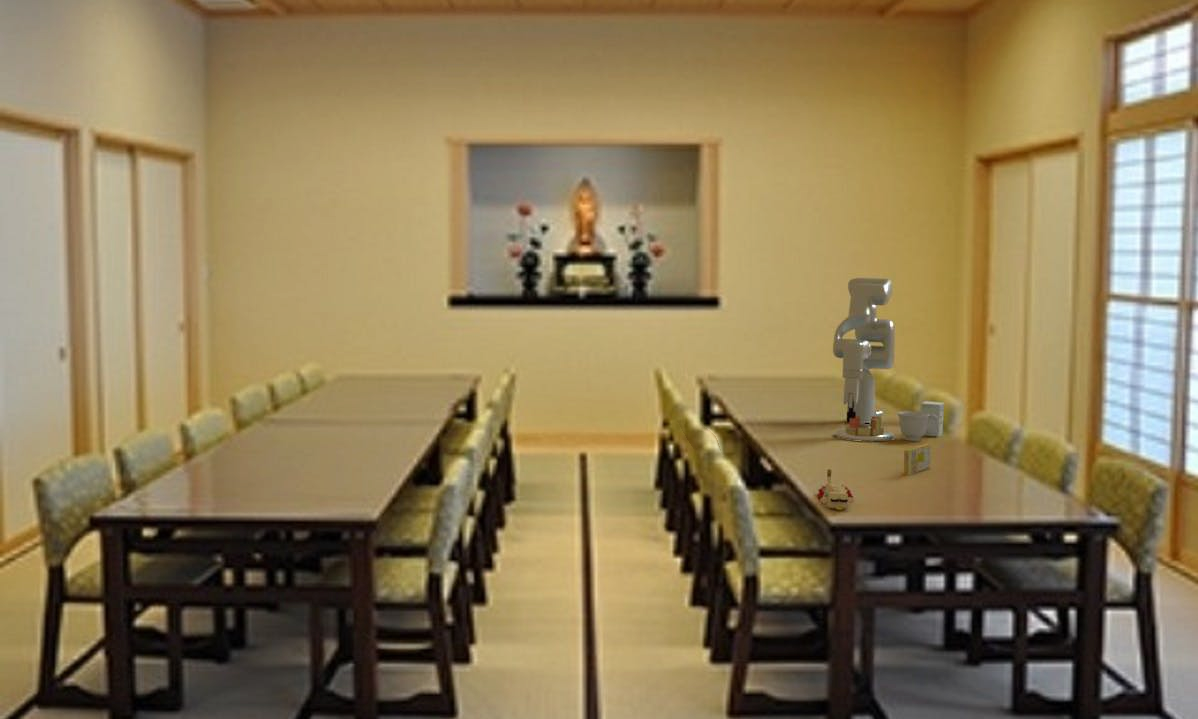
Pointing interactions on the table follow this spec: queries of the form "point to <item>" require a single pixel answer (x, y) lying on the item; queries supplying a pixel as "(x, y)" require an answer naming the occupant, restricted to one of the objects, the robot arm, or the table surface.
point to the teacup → (914, 424)
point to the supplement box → (933, 409)
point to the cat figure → (834, 495)
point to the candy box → (916, 459)
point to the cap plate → (884, 437)
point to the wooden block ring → (873, 430)
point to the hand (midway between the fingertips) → (851, 422)
